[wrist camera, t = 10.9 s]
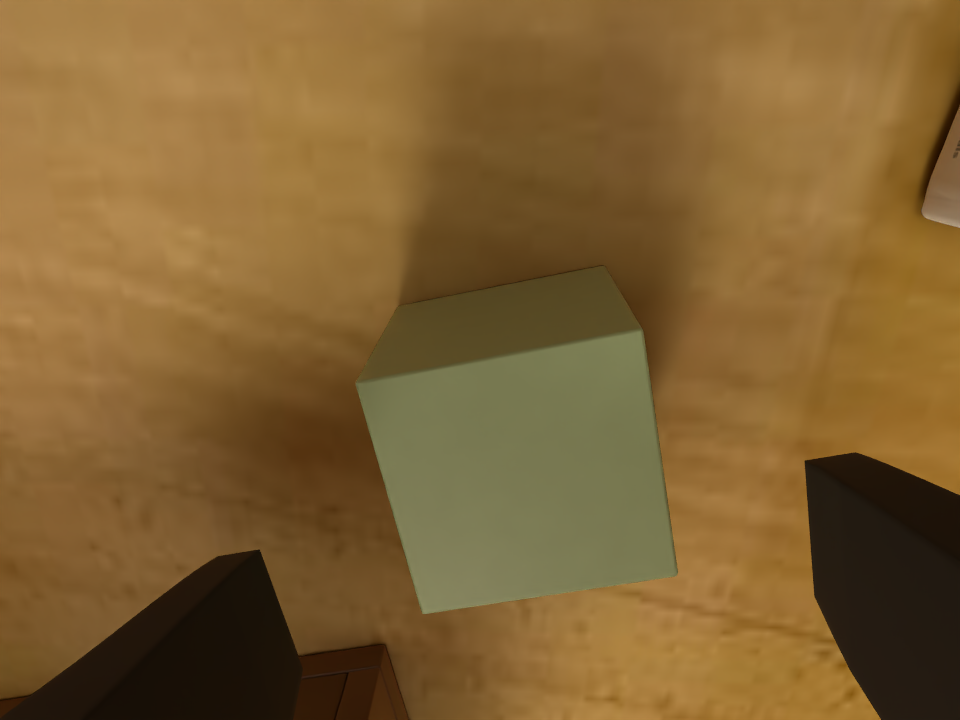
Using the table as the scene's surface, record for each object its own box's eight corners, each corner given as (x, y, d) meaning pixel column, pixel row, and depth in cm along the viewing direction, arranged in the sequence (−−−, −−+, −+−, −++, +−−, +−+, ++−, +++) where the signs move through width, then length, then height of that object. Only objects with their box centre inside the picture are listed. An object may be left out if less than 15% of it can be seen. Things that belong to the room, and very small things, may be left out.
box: (635, 454, 16) (678, 577, 12) (443, 486, 16) (421, 615, 12) (605, 264, 15) (643, 327, 10) (396, 305, 15) (353, 382, 11)
